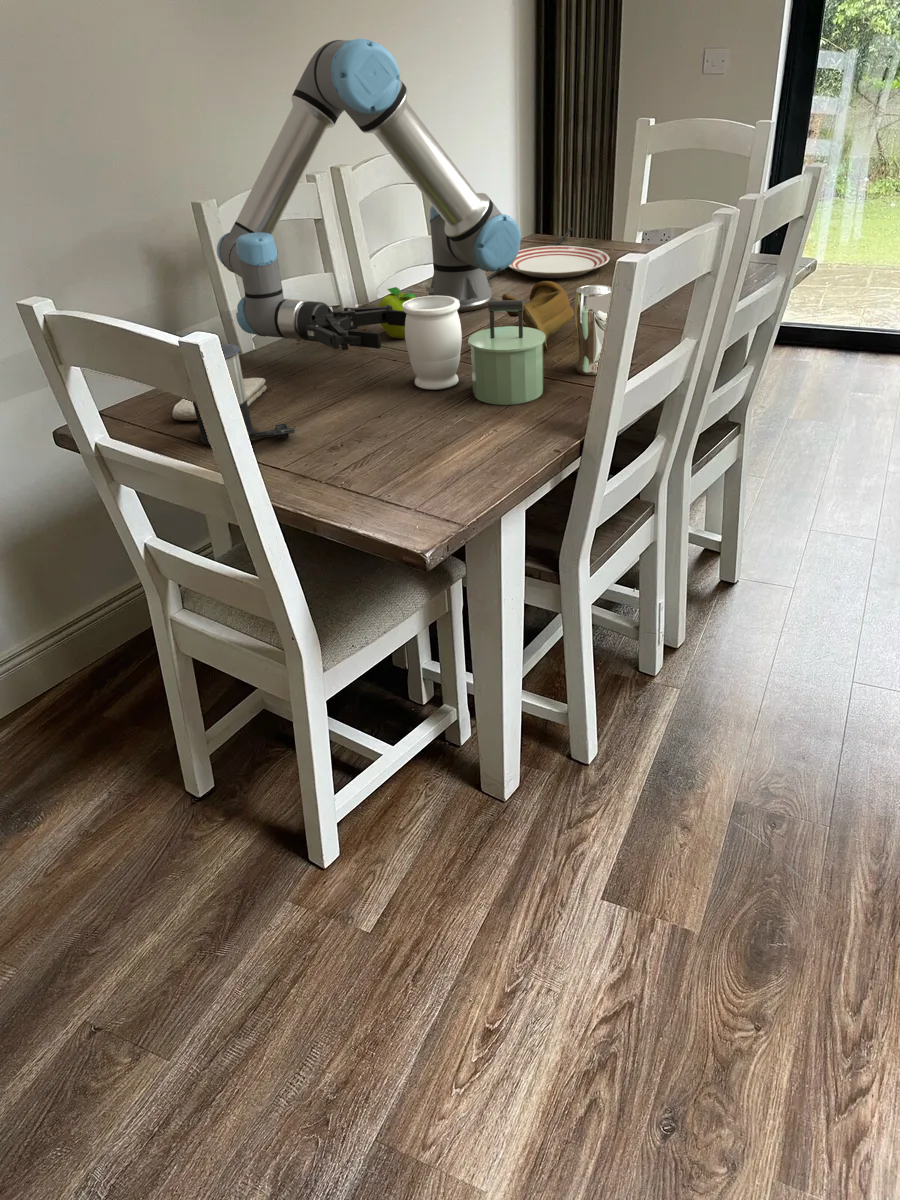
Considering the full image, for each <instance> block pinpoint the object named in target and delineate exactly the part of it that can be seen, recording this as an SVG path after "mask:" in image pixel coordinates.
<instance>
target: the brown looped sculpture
mask: <svg viewBox="0 0 900 1200" xmlns="http://www.w3.org/2000/svg"><path fill="white" fill-rule="evenodd" d="M501 299H502V300H501V301H506V300H518V299H517V298H515V297H514V296H511V295H509V294H507V293H503V294H502V296H501ZM505 312H506V313H507V315H508V316H509V317H510V318H518V311H505ZM574 317H575V309H574V308H573V307H572V306H571V303H570V299H569V296H568V294H567V292H566V291H565V289H564V288H563V287H562V285H559V283H557V282H554V281H551V280H543V281H542V280H541V281H539V282H537V283H535V284H534V285H533V286H532V289H531V290H530V293H529V301H527V302H526V303H524V310H523V322H524V323H525V325H526V327H529V328H534V329H537V330H540V331H542V332H543V333H544V334H545V336H546V340H545V342H544V343H543V354H546V352H547V351H548V344H547V340H548V339H549V338H550V336H552V335H553V334H555V333H557V332H558V331H559V330H561V328H564V327H565V326H566V325H568V324H569V323H570V322H571V321H572V320H573V319H574Z"/></svg>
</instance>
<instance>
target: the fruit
mask: <svg viewBox="0 0 900 1200" xmlns="http://www.w3.org/2000/svg"><path fill="white" fill-rule="evenodd" d="M386 290H387V291H388V292H389V293H388V294H386V295H384V297H383V298H382V299H381V300H380V302H378V305H377V307H381V306H387V305H390V306H392V309H393V310H397V311H403V303H404V302H406V301H408V300H410V299H413V298H417V296H416V294H415V293H413V292H407V293H405V292H401V289H400V288H399V287H397V286H394V287H391V288H386ZM380 326H381V328H382V329H383V330H384V331H385V333H386V334H388V335H389V336H390V337H391V338H394V339H400V340H401V339H402V340H403V339H405V326H397V325H388V323H381V324H380Z"/></svg>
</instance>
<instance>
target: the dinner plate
mask: <svg viewBox="0 0 900 1200" xmlns="http://www.w3.org/2000/svg"><path fill="white" fill-rule="evenodd" d="M609 261H610V256H609V254H607V252H605V251H602V250H600V249H596V248H591V247H585V246H576V245H575V246H574V245H556V246H551V245H544V246H535V247H528V248H524V249H519V252H518V254H517V256H516V258H515V260H514V261H513V262H512V263H511V264H510V265H509V266H508V267H510V268H509V269H512V271H513V270H514V271H515V272H518V273H521V274H523V275H526V276H529V277H532V278H539V279H566V278H573V277H578V276H582V275H585V274H587V273H589V272H591V271H594V270H596V269H599V268H600V267H602V266H604V265H606V264H607V263H609Z"/></svg>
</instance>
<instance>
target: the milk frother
mask: <svg viewBox="0 0 900 1200" xmlns="http://www.w3.org/2000/svg"><path fill="white" fill-rule="evenodd" d="M220 344H221V347H222V351H223V354H224V357H225V360H226V363H227V367H228V370H229V373H230V377H231V380H232V383H233V386H234V389H235V392H236V396H237V399H238V402H239V405H240V408H241V411H242V413H243V416H244V420H245V423H246V426H247V429H248V432H249V437H250V438H249V439H260V438H268V437H274V436H275V437H276V438H277V440H278V441H282V440H287V439H289V437H290V436H289V434H290V435H291V434H294V433H296V431H295V428H294V427H288V426H287V424H286V423H279V424H275V426H274V428H275V429H267V430H264V431H258V432H256V430H255V428H254V426H253V422H252V418H251V413H250V409H249V406H248V404H247V398H246V393H245V388H244V382H243V379H244V376H243V371H242V366H241V361H240V355H239V352H240V347H239V346H237V345H235V344H233V343H232V344H230V343H220ZM192 402H193V401H192ZM193 406H194V409H195V413H196V417H197V420H196V421H197V425H198V428H199V433H200V442H202V443H203V444H205V445H208V446H210V445H209V442H208V439H207V435H206V432H205V429H204V426H203V423H202V420H201V417H200V414H199V411H198V408H197V406H196V404H195V403H194V402H193Z"/></svg>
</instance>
